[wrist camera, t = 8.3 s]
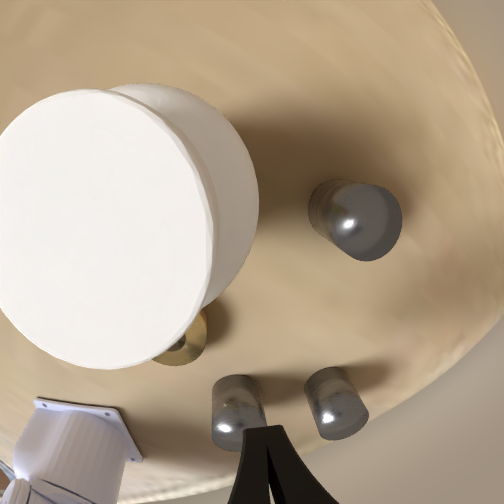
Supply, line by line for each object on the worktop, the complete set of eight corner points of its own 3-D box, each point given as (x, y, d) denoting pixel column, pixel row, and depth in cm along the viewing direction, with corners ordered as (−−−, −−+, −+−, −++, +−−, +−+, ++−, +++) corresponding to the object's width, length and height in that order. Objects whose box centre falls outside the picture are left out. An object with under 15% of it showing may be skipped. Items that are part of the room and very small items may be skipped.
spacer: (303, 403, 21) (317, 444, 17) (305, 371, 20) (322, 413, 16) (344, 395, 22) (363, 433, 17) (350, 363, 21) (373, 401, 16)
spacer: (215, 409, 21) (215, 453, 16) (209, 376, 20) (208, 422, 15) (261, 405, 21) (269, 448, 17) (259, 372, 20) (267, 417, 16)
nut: (149, 349, 19) (143, 367, 17) (135, 292, 18) (125, 306, 16) (211, 346, 19) (210, 365, 17) (202, 286, 18) (200, 301, 16)
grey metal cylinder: (308, 240, 18) (335, 264, 13) (307, 180, 17) (335, 185, 12) (362, 236, 18) (399, 257, 14) (362, 179, 17) (403, 185, 13)
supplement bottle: (151, 110, 15) (9, 13, 2) (258, 152, 16) (366, 115, 4) (110, 218, 16) (-51, 320, 4) (212, 259, 17) (199, 445, 5)
